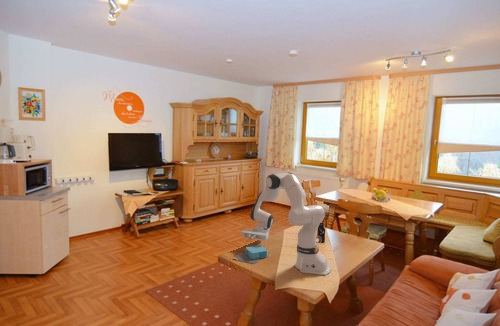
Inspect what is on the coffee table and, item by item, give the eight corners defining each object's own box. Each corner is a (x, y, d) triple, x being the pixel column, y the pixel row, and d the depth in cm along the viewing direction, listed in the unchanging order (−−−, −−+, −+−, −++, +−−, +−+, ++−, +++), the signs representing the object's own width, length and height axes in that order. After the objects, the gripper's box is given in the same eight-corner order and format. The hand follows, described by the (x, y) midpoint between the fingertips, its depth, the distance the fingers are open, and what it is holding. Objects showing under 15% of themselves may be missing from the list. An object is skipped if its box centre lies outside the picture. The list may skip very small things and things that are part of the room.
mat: (261, 257, 210) (261, 257, 210) (254, 264, 200) (254, 263, 200) (239, 253, 217) (239, 252, 217) (232, 259, 208) (232, 259, 208)
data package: (244, 253, 216) (251, 259, 205) (244, 247, 216) (251, 253, 205) (260, 250, 221) (267, 256, 210) (260, 244, 221) (267, 250, 210)
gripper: (246, 226, 235) (237, 231, 223) (270, 229, 226) (262, 235, 214) (246, 234, 236) (237, 240, 224) (270, 238, 227) (263, 244, 215)
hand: (250, 238), depth 219 cm, fingers closed
